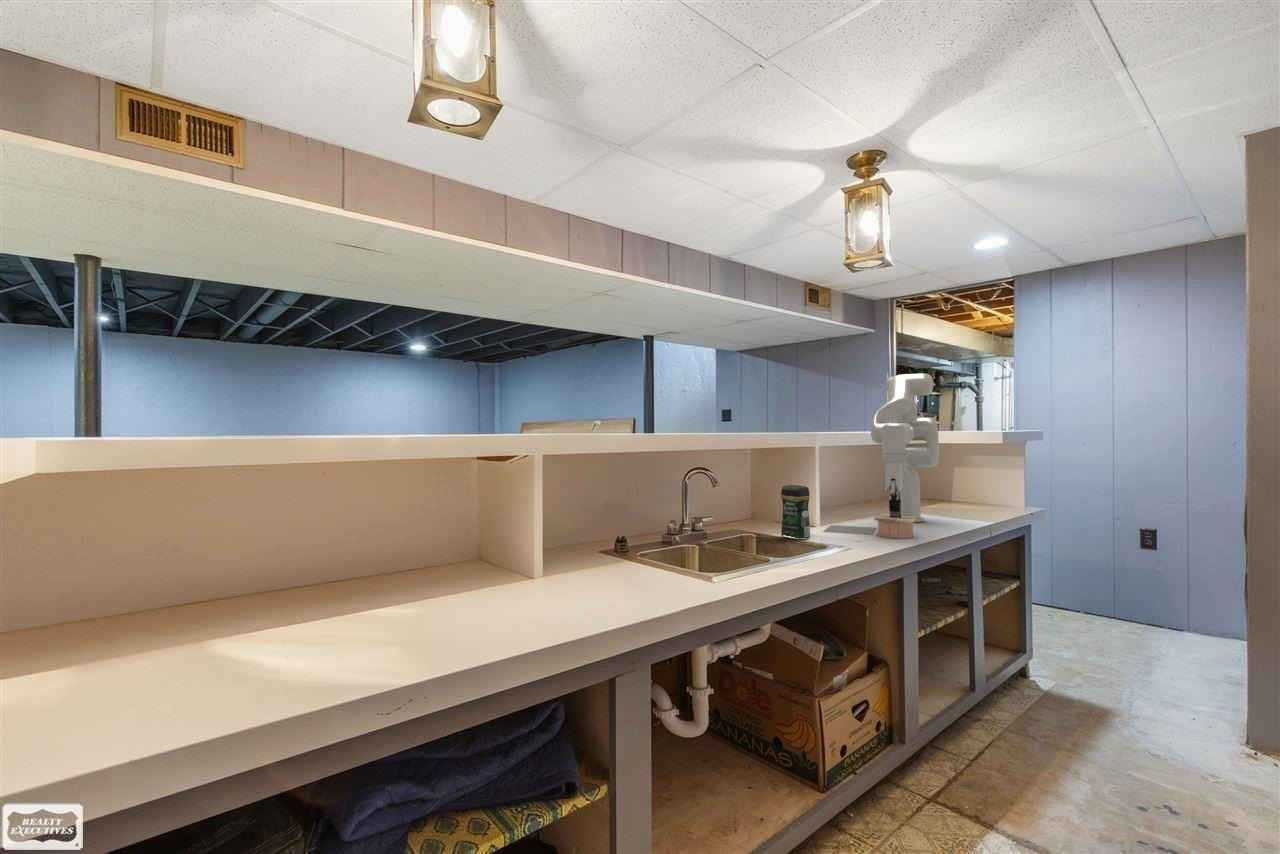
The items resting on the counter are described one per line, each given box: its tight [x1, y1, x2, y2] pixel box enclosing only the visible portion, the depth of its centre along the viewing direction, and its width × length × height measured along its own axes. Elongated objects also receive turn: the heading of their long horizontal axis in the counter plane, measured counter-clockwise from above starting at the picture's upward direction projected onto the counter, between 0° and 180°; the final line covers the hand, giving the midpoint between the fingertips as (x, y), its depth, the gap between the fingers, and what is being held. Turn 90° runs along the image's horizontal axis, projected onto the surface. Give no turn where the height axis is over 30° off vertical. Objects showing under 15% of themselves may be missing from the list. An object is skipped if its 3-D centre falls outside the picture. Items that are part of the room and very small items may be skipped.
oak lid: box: [873, 503, 918, 524], centre depth 206 cm, size 14×14×6 cm
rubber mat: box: [822, 524, 878, 536], centre depth 219 cm, size 17×17×1 cm
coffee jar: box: [780, 484, 811, 539], centre depth 207 cm, size 10×8×19 cm
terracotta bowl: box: [877, 521, 914, 539], centre depth 206 cm, size 11×11×6 cm
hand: (895, 510), depth 206 cm, fingers open, 4 cm apart
